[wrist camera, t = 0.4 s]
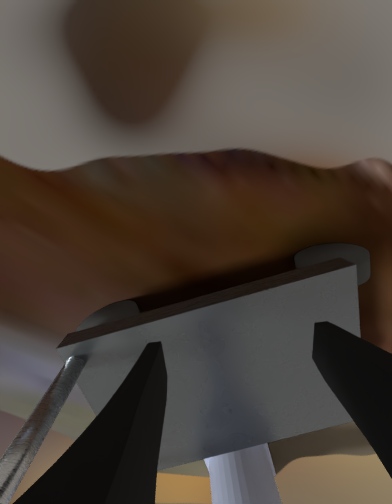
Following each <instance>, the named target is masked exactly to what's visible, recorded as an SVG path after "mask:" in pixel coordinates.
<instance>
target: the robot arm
mask: <svg viewBox="0 0 392 504" xmlns="http://www.w3.org/2000/svg"><path fill="white" fill-rule="evenodd" d="M312 359H313V361H314V363H315V364H316V366H317V368H318V370H319V372H320V373H321V375H322V377H323V379H324V380H325V382H326V383H327V385H328V386H329V387H330V389H331V390H332V392H333V393H334V394H335V396H336V397H337V399H338V400H339V401H340V403H341V404H342V406H343V407H344V408H345V410H346V411H347V412H348V414H349V415H350V417H351V418H352V419H353V421H354V422H355V423H356V425H357V426H358V428H359V429H360V430H361V432H362V433H363V435H364V436H365V437H366V439H367V440H368V442H369V443H370V445H371V446H372V448H373V449H374V451H375V452H376V454H377V455H378V457H379V459H380V460H381V462H382V464H383V465H384V467H385V468H386V470H387V472H388V473H389V475H390V477H391V478H392V354H391V353H389V352H387V351H385V350H383V349H381V348H379V347H377V346H375V345H373V344H371V343H369V342H367V341H365V340H363V339H361V338H360V337H358V336H356V335H354V334H352V333H350V332H348V331H346V330H344V329H342V328H341V327H339V326H337V325H335V324H333V323H330V322H328V321H324V322H315V323H314V336H313V350H312ZM167 379H168V375H167V370H166V364H165V359H164V353H163V348H162V343H161V341H158V342H150V343H148V344H147V345H146V346H145V348H144V350H143V351H142V353H141V354H140V356H139V358H138V359H137V361H136V362H135V364H134V366H133V367H132V369H131V370H130V372H129V373H128V375H127V376H126V378H125V379H124V381H123V382H122V383H121V385H120V386H119V388H118V389H117V390H116V392H115V393H114V394H113V396H112V397H111V399H110V400H109V401H108V403H107V404H106V405H105V406H104V408H103V409H102V410H101V412H100V413H99V414H98V415H97V416H96V418H95V419H94V420H93V421H92V422H91V424H90V425H89V426H88V427H87V428H86V430H85V431H84V432H83V433H82V434H81V435H80V436H79V437H78V438H77V440H76V441H75V442H74V443H73V444H72V445H71V447H69V449H67V451H66V452H65V453H64V454H63V455H62V456H61V457H60V458H59V459H58V460H57V461H56V462H55V463H54V464H53V466H51V467H50V468H49V469H48V470H47V471H46V472H45V473H44V474H43V475H42V476H41V477H40V478H39V479H38V480H37V481H36V482H35V483H34V484H33V485H32V486H31V487H30V488H29V489H28V490H27V491H26V492H25V493H24V494H23V495H21V497H19V498H18V499H17V500H16V501H15V502H14V503H13V504H155V491H156V477H157V468H158V460H159V452H160V445H161V438H162V431H163V424H164V417H165V409H166V402H167ZM204 461H205V463H206V465H207V468H208V470H209V473H210V483H211V494H212V504H282V502H281V498H280V495H279V492H278V488H277V485H276V482H275V479H274V477H275V476H276V473H275V469H274V466H273V462H272V459H271V455H270V451H269V448H268V444H267V443H265V444H261V445H257V446H253V447H249V448H245V449H242V450H238V451H234V452H230V453H226V454H222V455H218V456H214V457H210V458H206V459H204Z"/></svg>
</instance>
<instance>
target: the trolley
mask: <svg viewBox="0 0 392 504" xmlns="http://www.w3.org/2000/svg"><path fill="white" fill-rule="evenodd" d="M294 260H295V266H296V269H295V270H292V271H288V272H285V273H281V274H278V275H274V276H271V277H267V278H264V279H260V280H257V281H253V282H249V283H246V284H242V285H239V286H235V287H232V288H228V289H225V290H221V291H218V292H214V293H211V294H207V295H203V296H200V297H196V298H193V299H189V300H186V301H182V302H179V303H175V304H172V305H168V306H165V307H161V308H158V309H154V310H150V311H147V312H143V313H140V311H139V309H138V306H137V304H136V303H135V302H134V301H129V300H127V301H120V302H116V303H113V304H110V305H108V306H105V307H103V308H101V309H100V310H98V311H96V312H95V313H93V314H92V315H90V316H89V317H88V318H86V319H85V320H84V321H83V322H82V323H81V324H80V325H79V327H78V328H77V330H76V332H73V333H69V334H67V336H66V337H65V338H64V339H63V341H62V342H61V343H60V344H59V346H58V347H57V348H56V350H57V352H58V353H59V355H60V357H61V358H62V360H63V361H64V363H65V364H64V366H63V367H62V369H61V370H60V372H59V373H58V375H57V376H56V378H55V379H54V381H53V382H52V384H51V385H50V387H49V388H48V390H47V391H46V392H45V394H44V395H43V397H42V398H41V400H40V401H39V403H38V404H37V406H36V407H35V409H34V410H33V412H32V413H31V415H30V416H29V418H28V419H27V421H26V422H25V424H24V425H23V427H22V428H21V429H20V431H19V432H18V434H17V435H16V437H15V438H14V440H13V441H12V443H11V444H10V446H9V447H8V449H7V450H6V452H5V453H4V455H3V456H2V458H1V459H0V504H9V501H10V500H11V498H12V496H13V495H14V493H15V491H16V489H17V487H18V486H19V483H20V482H21V480H22V478H23V476H24V475H25V473H26V471H27V469H28V468H29V466H30V464H31V462H32V460H33V459H34V457H35V455H36V453H37V451H38V449H39V448H40V446H41V444H42V442H43V441H44V439H45V437H46V435H47V433H48V432H49V430H50V428H51V426H52V424H53V423H54V421H55V419H56V417H57V415H58V414H59V412H60V410H61V408H62V406H63V405H64V403H65V401H66V399H67V397H68V396H69V394H70V392H71V390H72V388H73V387H74V385H75V383H77V385H78V386H79V388H80V390H81V391H82V393H83V394H84V396H85V398H86V399H87V401H88V403H89V404H90V406H91V408H92V409H93V411H94V413H95V414H96V416H97V415H98V414H99V413H100V412H101V410H102V409H103V408H104V406H105V405H106V404H107V403H108V401H109V400H110V399H111V397H112V396H113V394H114V393H115V392H116V390H117V389H118V388H119V386H120V385H121V383H122V382H123V381H124V379H125V378H126V376H127V375H128V373H129V372H130V370H131V369H132V367H133V366H134V364H135V362H136V361H137V359H138V358H139V356H140V354H141V353H142V351H143V350H144V348H145V346H146V345H147V344H148V343H150V342H158V341H161V343H162V348H163V353H164V359H165V364H166V370H167V375H168V379H167V402H166V409H165V417H164V424H163V431H162V438H161V445H160V452H159V460H158V468H157V471H159V470H163V469H167V468H170V467H174V466H178V465H182V464H186V463H190V462H194V461H198V460H202V459H206V458H210V457H214V456H218V455H222V454H226V453H230V452H234V451H238V450H242V449H245V448H249V447H253V446H257V445H261V444H265V443H269V442H273V441H277V440H281V439H285V438H289V437H293V436H297V435H301V434H305V433H309V432H313V431H317V430H320V429H324V428H328V427H332V426H336V425H340V424H344V423H348V422H352V421H353V419H352V418H351V417H350V415H349V414H348V412H347V411H346V410H345V408H344V407H343V406H342V404H341V403H340V401H339V400H338V399H337V397H336V396H335V394H334V393H333V392H332V390H331V389H330V387H329V386H328V385H327V383H326V382H325V380H324V379H323V377H322V375H321V373H320V372H319V370H318V368H317V366H316V364H315V363H314V361H313V359H312V350H313V336H314V323H315V322H324V321H328V322H330V323H333V324H335V325H337V326H339V327H341V328H342V329H344V330H346V331H348V332H350V333H352V334H354V335H356V336H358V337H360V338H361V335H360V319H359V302H358V286H359V285H361V284H363V283H365V282H366V281H368V279H369V278H370V275H371V272H370V253H369V251H368V250H367V249H365V248H363V247H361V246H357V245H353V244H345V243H330V244H321V245H316V246H312V247H308V248H306V249H303V250H301V251H300V252H298V253H297V254H296V255H295V257H294Z"/></svg>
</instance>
